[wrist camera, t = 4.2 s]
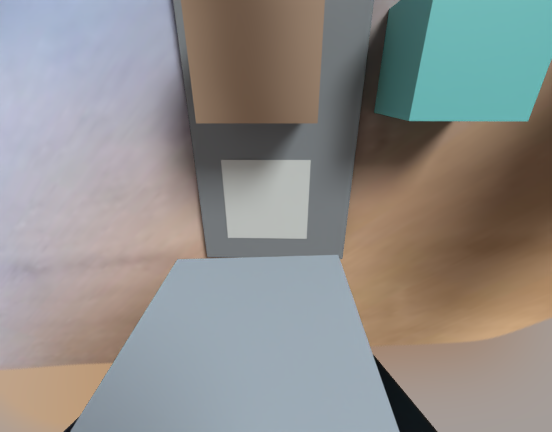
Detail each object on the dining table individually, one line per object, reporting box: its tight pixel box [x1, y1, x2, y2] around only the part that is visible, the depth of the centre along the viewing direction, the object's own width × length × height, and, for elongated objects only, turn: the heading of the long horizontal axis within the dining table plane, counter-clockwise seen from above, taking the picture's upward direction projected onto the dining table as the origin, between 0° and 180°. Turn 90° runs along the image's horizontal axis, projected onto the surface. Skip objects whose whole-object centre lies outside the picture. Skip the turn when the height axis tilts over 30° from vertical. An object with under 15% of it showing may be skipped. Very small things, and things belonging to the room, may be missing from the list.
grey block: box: [70, 255, 399, 432], centre depth 7 cm, size 5×5×5 cm
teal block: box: [374, 0, 552, 121], centre depth 13 cm, size 5×5×5 cm
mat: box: [173, 0, 374, 259], centre depth 16 cm, size 10×17×1 cm, turn 0°
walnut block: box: [181, 0, 325, 123], centre depth 12 cm, size 5×5×5 cm
